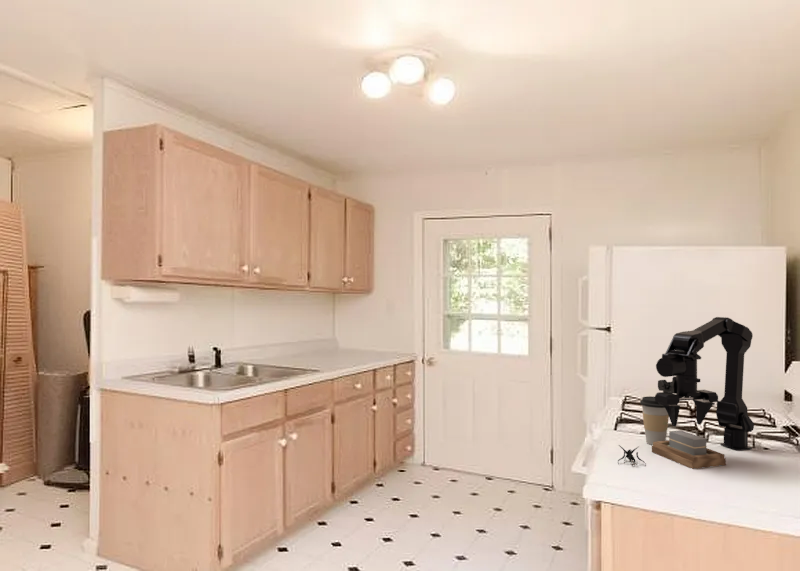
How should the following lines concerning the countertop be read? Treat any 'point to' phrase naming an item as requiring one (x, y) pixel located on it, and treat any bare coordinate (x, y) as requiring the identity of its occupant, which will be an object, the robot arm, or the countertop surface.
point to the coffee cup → (654, 420)
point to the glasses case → (687, 442)
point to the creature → (630, 455)
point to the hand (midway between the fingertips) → (686, 425)
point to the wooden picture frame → (688, 456)
